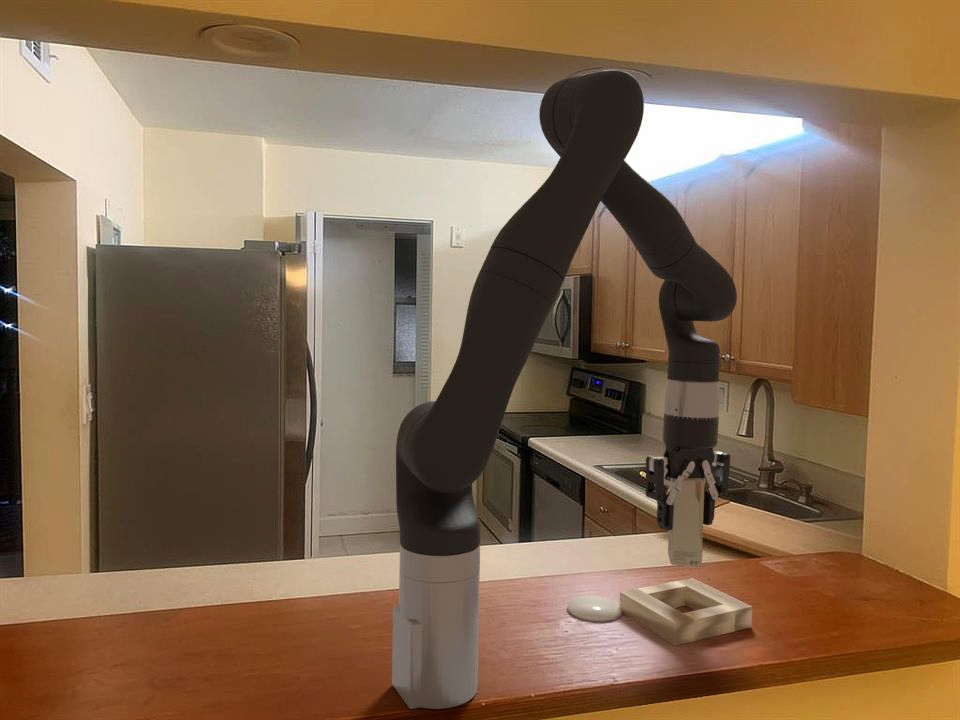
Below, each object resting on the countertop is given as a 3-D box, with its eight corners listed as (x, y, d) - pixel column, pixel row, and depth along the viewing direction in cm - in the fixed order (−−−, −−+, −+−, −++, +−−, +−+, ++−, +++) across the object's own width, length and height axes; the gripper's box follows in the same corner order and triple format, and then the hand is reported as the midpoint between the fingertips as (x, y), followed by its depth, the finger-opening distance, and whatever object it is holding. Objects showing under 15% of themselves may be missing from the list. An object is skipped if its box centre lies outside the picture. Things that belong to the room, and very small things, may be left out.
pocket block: (675, 645, 95) (675, 623, 95) (619, 611, 106) (619, 591, 105) (751, 627, 101) (752, 606, 101) (691, 596, 112) (692, 578, 112)
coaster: (588, 625, 101) (588, 621, 101) (557, 604, 108) (557, 600, 108) (633, 615, 104) (633, 611, 104) (600, 596, 111) (600, 592, 111)
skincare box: (702, 568, 99) (706, 482, 99) (670, 566, 100) (673, 480, 99) (697, 553, 106) (700, 472, 105) (667, 551, 106) (670, 470, 106)
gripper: (670, 417, 95) (664, 539, 96) (748, 413, 101) (742, 528, 102) (634, 410, 102) (629, 524, 103) (709, 407, 108) (704, 514, 109)
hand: (685, 526), depth 103 cm, fingers closed on skincare box, 7 cm apart
